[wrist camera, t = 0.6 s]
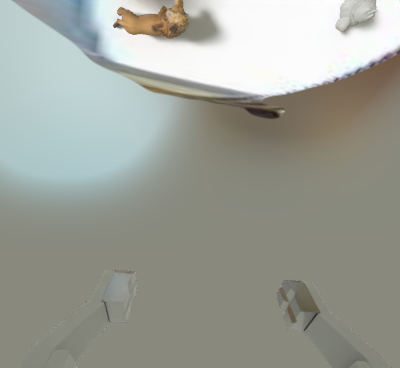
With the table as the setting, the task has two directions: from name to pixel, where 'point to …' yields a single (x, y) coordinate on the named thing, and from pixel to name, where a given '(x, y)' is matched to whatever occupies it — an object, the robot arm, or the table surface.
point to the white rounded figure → (355, 12)
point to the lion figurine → (155, 21)
